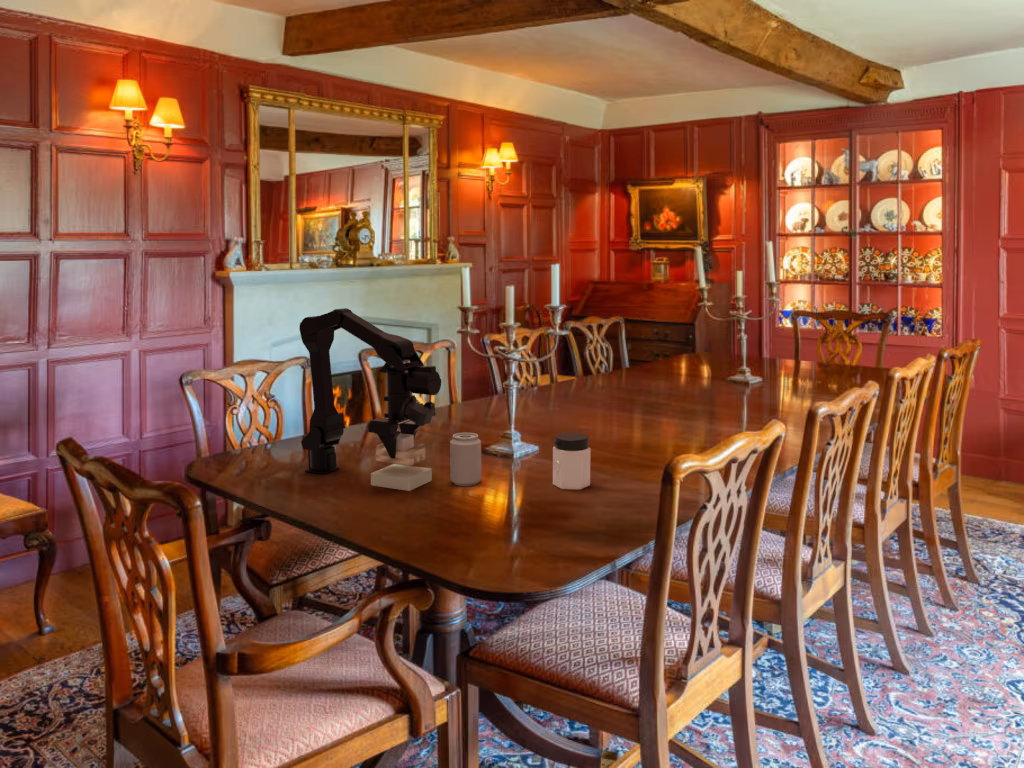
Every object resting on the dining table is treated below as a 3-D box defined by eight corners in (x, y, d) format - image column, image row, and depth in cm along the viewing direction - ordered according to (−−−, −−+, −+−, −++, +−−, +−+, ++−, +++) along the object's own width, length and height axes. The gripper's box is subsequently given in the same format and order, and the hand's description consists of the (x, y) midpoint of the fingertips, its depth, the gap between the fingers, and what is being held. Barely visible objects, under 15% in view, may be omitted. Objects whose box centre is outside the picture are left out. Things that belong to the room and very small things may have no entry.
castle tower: (376, 460, 205) (375, 445, 205) (391, 454, 211) (390, 440, 210) (411, 465, 201) (410, 449, 200) (425, 459, 207) (425, 444, 206)
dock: (371, 485, 205) (370, 473, 204) (394, 475, 214) (394, 463, 213) (409, 490, 200) (409, 478, 200) (431, 480, 209) (431, 468, 209)
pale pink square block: (387, 449, 205) (386, 436, 204) (397, 445, 209) (397, 433, 208) (403, 451, 203) (403, 438, 202) (413, 447, 207) (413, 435, 206)
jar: (547, 482, 207) (547, 434, 205) (577, 478, 210) (577, 431, 208) (565, 492, 199) (565, 442, 197) (595, 487, 202) (595, 438, 200)
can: (481, 478, 211) (480, 431, 209) (481, 486, 204) (480, 437, 202) (451, 478, 211) (450, 431, 209) (450, 487, 203) (449, 438, 201)
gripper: (406, 400, 192) (407, 468, 194) (448, 388, 208) (448, 450, 211) (365, 397, 196) (367, 462, 199) (409, 385, 213) (410, 445, 216)
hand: (400, 455), depth 206 cm, fingers closed on castle tower, 6 cm apart
